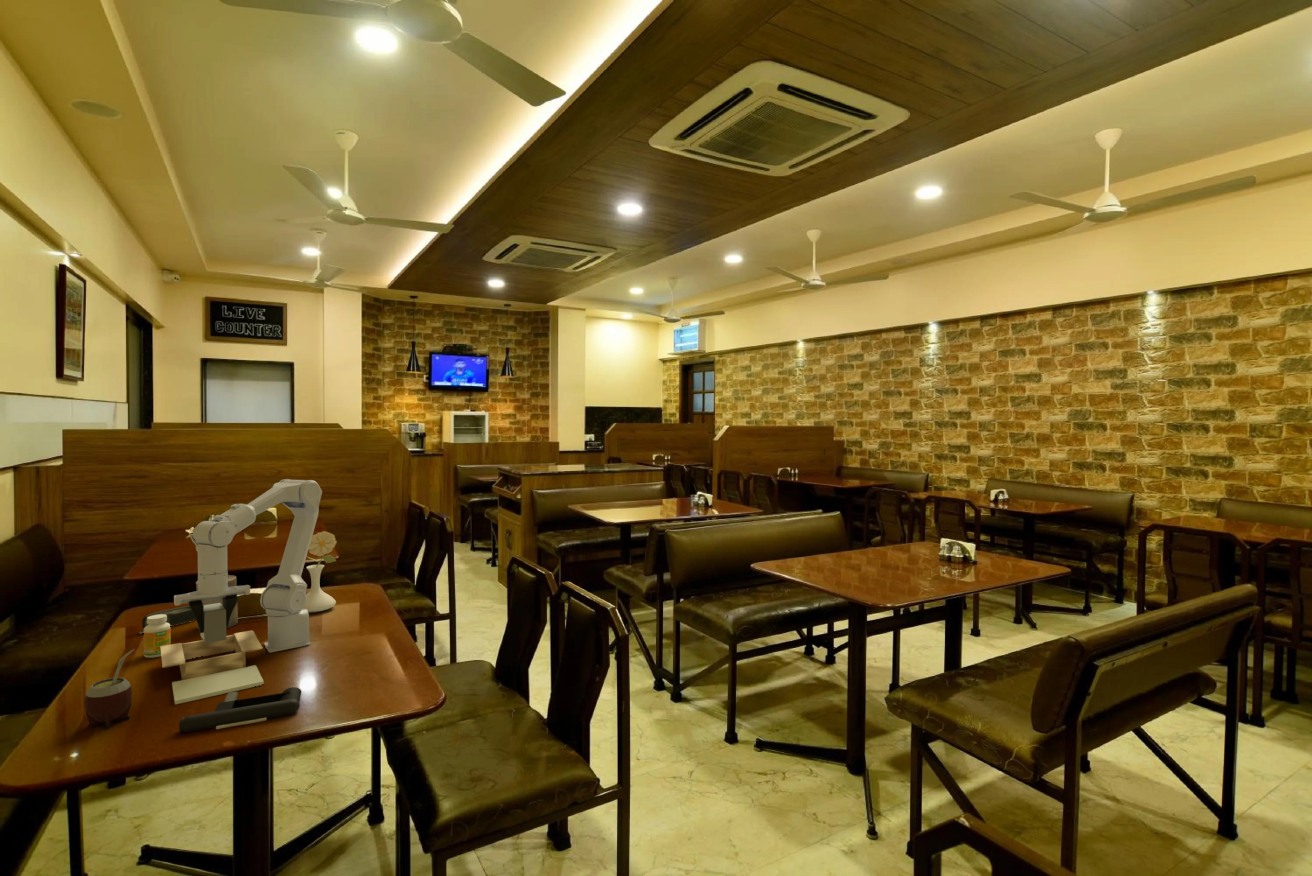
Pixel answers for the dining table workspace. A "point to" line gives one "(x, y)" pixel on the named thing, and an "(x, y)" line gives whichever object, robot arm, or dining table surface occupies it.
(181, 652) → the carton
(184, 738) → the dining table surface
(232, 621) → the pillar candle
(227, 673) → the sage board
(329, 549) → the flower in vase
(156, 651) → the supplement bottle
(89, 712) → the mate gourd
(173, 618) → the dark grey stapler
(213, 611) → the block
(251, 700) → the door handle
